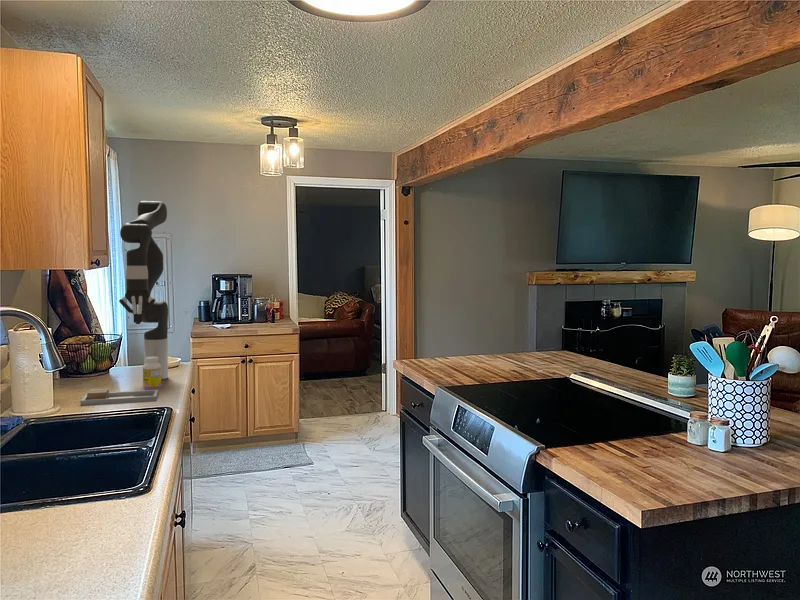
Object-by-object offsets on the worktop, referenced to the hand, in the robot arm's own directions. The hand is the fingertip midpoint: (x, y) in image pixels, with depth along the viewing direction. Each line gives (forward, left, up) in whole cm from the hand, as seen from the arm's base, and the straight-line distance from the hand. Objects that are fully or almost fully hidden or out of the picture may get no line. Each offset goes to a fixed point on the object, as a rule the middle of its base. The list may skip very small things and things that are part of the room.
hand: (137, 323), depth 219 cm
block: (+10, -12, -26) cm, 31 cm away
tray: (+10, -5, -27) cm, 29 cm away
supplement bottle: (-8, +4, -27) cm, 29 cm away
